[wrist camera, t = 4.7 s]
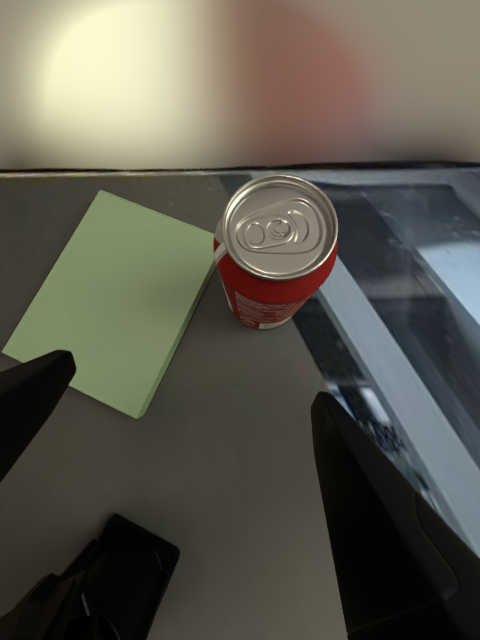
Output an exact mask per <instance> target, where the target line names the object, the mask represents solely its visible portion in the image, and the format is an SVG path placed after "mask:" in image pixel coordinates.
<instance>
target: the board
mask: <svg viewBox="0 0 480 640" xmlns="http://www.w3.org/2000/svg"><path fill="white" fill-rule="evenodd" d="M214 235H215V234H213V233H210V232H207V231H205V230H202V229H200V228H197V227H195V226H192V225H189V224H187V223H184V222H182V221H179V220H177V219H174V218H171V217H169V216H166V215H164V214H161V213H159V212H156V211H153V210H151V209H148V208H146V207H143V206H141V205H138V204H135V203H133V202H130V201H128V200H125V199H123V198H120V197H118V196H115V195H112V194H110V193H107V192H105V191H102V190H100V191H99V193H98V194H97V196H96V198H95V199H94V201H93V203H92V204H91V206H90V208H89V209H88V211H87V212H86V214H85V216H84V217H83V219H82V221H81V222H80V224H79V226H78V227H77V229H76V231H75V232H74V234H73V236H72V237H71V239H70V240H69V242H68V244H67V245H66V247H65V249H64V250H63V252H62V254H61V255H60V257H59V259H58V260H57V262H56V263H55V265H54V267H53V268H52V270H51V272H50V273H49V275H48V277H47V278H46V280H45V282H44V283H43V285H42V286H41V288H40V290H39V291H38V293H37V295H36V296H35V298H34V300H33V301H32V303H31V305H30V306H29V308H28V310H27V311H26V313H25V314H24V316H23V318H22V319H21V321H20V323H19V324H18V326H17V328H16V329H15V331H14V333H13V334H12V336H11V337H10V339H9V341H8V342H7V344H6V346H5V347H4V349H3V351H2V353H4V354H6V355H8V356H10V357H12V358H14V359H16V360H18V361H20V362H22V363H25V362H27V361H30V360H32V359H35V358H37V357H40V356H42V355H45V354H47V353H50V352H52V351H54V350H58V349H61V350H68V351H71V352H72V354H73V357H74V360H75V364H76V373H75V375H74V377H73V379H72V380H71V382H70V384H69V386H71V387H73V388H75V389H77V390H79V391H81V392H83V393H85V394H87V395H89V396H91V397H93V398H95V399H97V400H99V401H101V402H103V403H105V404H107V405H109V406H111V407H113V408H115V409H117V410H119V411H121V412H123V413H125V414H127V415H129V416H131V417H133V418H135V419H138V418H140V417H142V416H144V414H145V412H146V410H147V408H148V406H149V404H150V402H151V400H152V398H153V396H154V394H155V392H156V389H157V387H158V385H159V383H160V381H161V379H162V377H163V375H164V373H165V371H166V369H167V367H168V365H169V362H170V360H171V358H172V356H173V354H174V352H175V350H176V348H177V346H178V344H179V342H180V340H181V338H182V335H183V333H184V331H185V329H186V327H187V325H188V323H189V321H190V319H191V317H192V315H193V313H194V311H195V309H196V306H197V304H198V302H199V300H200V298H201V296H202V294H203V292H204V290H205V288H206V286H207V284H208V282H209V279H210V277H211V275H212V273H213V271H214V269H215V267H216V265H217V264H216V261H215V257H214V250H213V242H214Z"/></svg>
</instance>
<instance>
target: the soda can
mask: <svg viewBox="0 0 480 640" xmlns="http://www.w3.org/2000/svg"><path fill="white" fill-rule="evenodd" d="M337 235H338V220H337V215H336V212H335V209H334V207H333V205H332V203H331V201H330V200H329V198H328V197H327V196H326V195H325V193H324V192H323V191H322V190H321V189H319V188H318V187H317V186H316V185H314V184H313V183H311V182H309V181H307V180H305V179H303V178H300V177H297V176H293V175H288V174H270V175H265V176H261V177H258V178H255V179H253V180H251V181H249V182H247V183H245V184H244V185H242V186H241V187H240V188H239V189H238V190H237V191H236V192H235V193H234V194H233V195H232V196H231V198H230V199H229V201H228V202H227V204H226V206H225V209H224V212H223V215H222V217H221V219H220V221H219V223H218V225H217V228H216V231H215V235H214V242H213V250H214V257H215V261H216V264H217V268H218V271H219V274H220V277H221V281H222V284H223V287H224V290H225V294H226V297H227V300H228V303H229V306H230V309H231V311H232V312H233V314H234V315H235V317H236V318H237V319H238V320H239V321H241V322H242V323H243V324H245V325H247V326H249V327H252V328H255V329H272V328H275V327H278V326H280V325H282V324H284V323H285V322H286V321H287V320H289V319H290V318H291V317H292V315H293V314H294V313H295V312H296V311H297V310H298V309H299V308H300V307H301V306H302V305H303V304H304V303H305V302H306V301H307V300H308V299H309V298H310V296H311V295H312V294H313V293H314V292H315V291H316V290H317V289H318V288H319V287H320V286H321V285H322V284H323V283H324V281H325V280H326V279H327V277H328V276H329V274H330V272H331V271H332V268H333V266H334V263H335V260H336V255H337Z"/></svg>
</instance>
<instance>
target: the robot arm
mask: <svg viewBox="0 0 480 640" xmlns="http://www.w3.org/2000/svg"><path fill="white" fill-rule="evenodd" d="M75 373H76V364H75V360H74V357H73V354H72V352H71V351H68V350H61V349H58V350H54V351H52V352H50V353H47V354H45V355H42V356H40V357H37V358H35V359H32V360H30V361H27V362H25V363H22V364H20V365H18V366H15V367H13V368H10V369H8V370H5V371H3V372H0V482H1V481H2V480H3V478H4V477H5V476H6V474H7V473H8V472H9V470H10V469H11V468H12V466H13V465H14V464H15V462H16V461H17V459H18V458H19V457H20V455H21V454H22V453H23V451H24V450H25V449H26V447H27V446H28V445H29V443H30V442H31V441H32V439H33V438H34V437H35V435H36V434H37V432H38V431H39V430H40V428H41V427H42V426H43V424H44V423H45V422H46V420H47V419H48V417H49V416H50V415H51V413H52V412H53V410H54V409H55V407H56V405H57V404H58V402H59V400H60V399H61V397H62V395H63V394H64V392H65V390H66V389H67V387H68V385H69V384H70V382H71V380H72V379H73V377H74V375H75ZM311 421H312V435H313V447H314V456H315V462H316V467H317V473H318V478H319V484H320V489H321V494H322V500H323V505H324V511H325V516H326V522H327V527H328V533H329V538H330V543H331V549H332V554H333V560H334V565H335V571H336V576H337V582H338V587H339V592H340V598H341V603H342V609H343V614H344V620H345V625H346V630H347V633H348V635H347V637H348V640H480V558H479V557H478V556H477V555H476V554H475V553H474V552H473V551H472V550H471V549H470V548H469V547H468V546H467V545H466V544H465V543H464V542H463V541H462V540H461V538H460V537H459V536H458V535H457V534H456V533H455V532H454V531H453V530H452V529H451V528H450V527H449V526H448V525H447V524H446V523H445V521H444V520H443V519H442V518H441V517H440V516H439V515H438V514H437V513H436V512H435V510H434V509H433V508H432V507H431V506H430V505H429V504H428V503H427V502H426V500H425V499H424V498H423V497H422V496H421V495H420V494H419V492H417V491H415V488H414V487H413V486H412V485H411V484H410V482H409V481H408V480H407V479H406V478H405V477H404V476H403V474H402V473H401V472H400V471H399V470H398V469H397V468H396V467H395V465H394V464H393V463H392V462H391V461H390V460H389V459H388V457H387V456H386V455H385V454H384V453H383V452H382V451H381V450H380V448H379V447H378V446H377V445H376V444H375V443H374V442H373V440H372V439H371V438H370V437H369V436H368V435H367V434H366V432H365V431H364V430H363V429H362V428H361V427H360V426H359V425H358V423H357V422H356V421H355V420H354V419H353V418H352V417H351V415H350V414H349V413H348V412H347V411H346V410H345V409H344V408H343V406H342V405H341V404H340V403H339V402H338V401H337V400H336V398H335V397H334V396H333V395H332V394H331V393H328V392H322V391H320V392H318V393H317V395H316V397H315V399H314V401H313V403H312V406H311ZM112 521H115V523H116V525H115V524H113V523H112ZM171 554H174V555H175V557H172V556H171ZM179 556H180V551H179V549H178V548H177V547H176V546H174V545H172V544H170V543H168V542H167V541H165V540H163V539H161V538H159V537H158V536H156V535H154V534H152V533H150V532H148V531H147V530H145V529H143V528H141V527H139V526H138V525H136V524H134V523H132V522H130V521H128V520H127V519H125V518H123V517H121V516H119V515H117V514H115V515H112V516H111V517H110V518H109V520H108V521H107V523H106V525H105V527H104V529H103V532H102V534H101V536H100V538H99V540H98V541H97V540H96V539H94V540H92V541H90V542H89V543H88V545H87V546H86V547H85V548H84V549H83V550H82V551H81V553H80V554H79V555H78V556H77V557H76V558H75V559H74V560H73V562H72V563H71V564H70V565H69V566H68V567H67V568H66V570H65V571H64V572H63V573H62V574H61V575H60V576H57V575H54V574H52V573H50V574H49V575H47V576H45V577H43V578H41V579H40V580H39V581H38V582H37V584H36V585H35V586H34V587H33V588H32V589H31V590H30V591H29V592H28V593H27V594H26V595H25V596H24V597H23V598H22V599H21V600H20V602H19V603H18V604H17V605H16V606H15V608H14V609H12V610H11V611H10V612H8V613H7V614H5V615H4V616H2V617H1V618H0V640H147V637H148V634H149V631H150V629H151V626H152V623H153V620H154V618H155V615H156V612H157V610H158V608H159V605H160V603H161V600H162V598H163V596H164V593H165V591H166V588H167V586H168V583H169V581H170V579H171V576H172V574H173V571H174V569H175V567H176V564H177V562H178V559H179Z"/></svg>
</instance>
